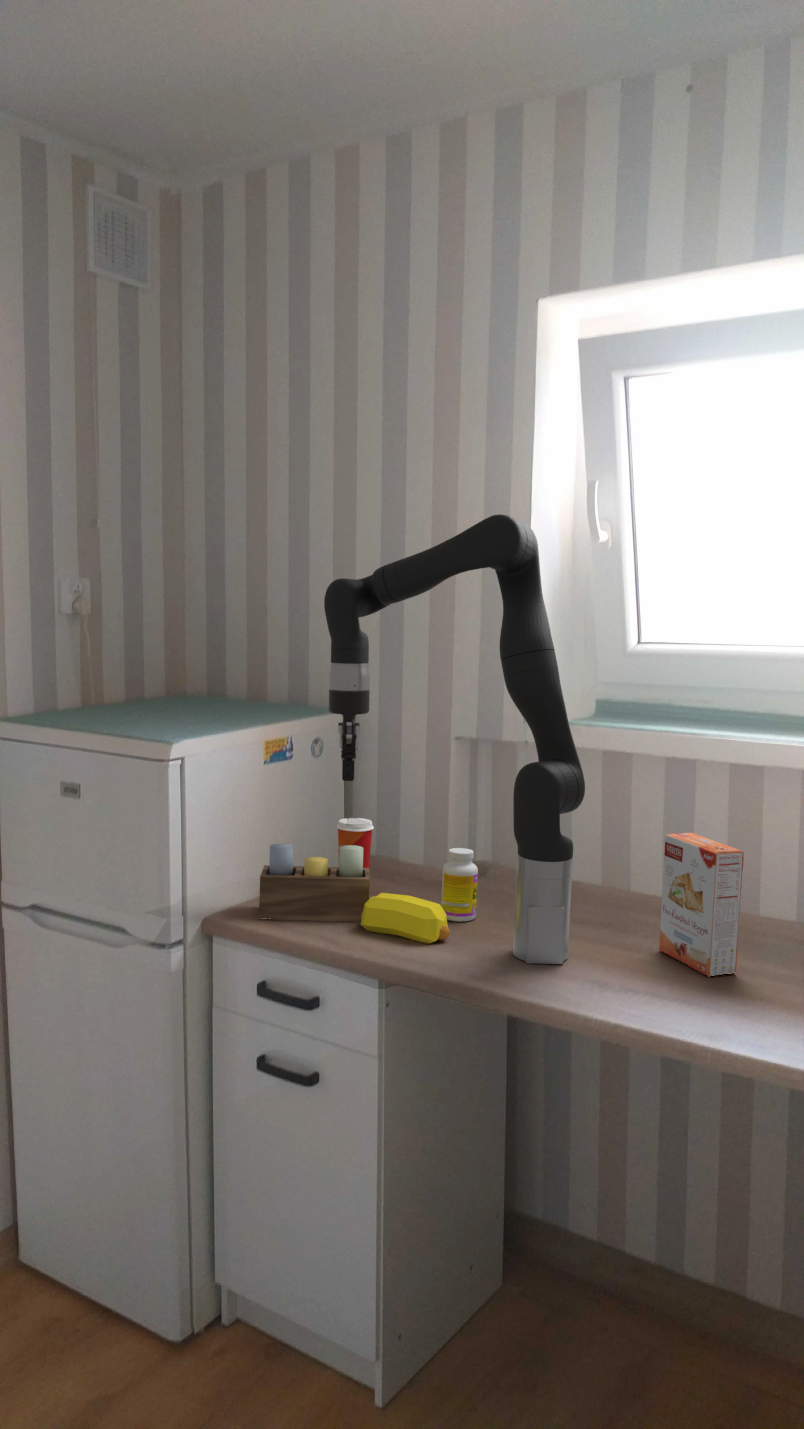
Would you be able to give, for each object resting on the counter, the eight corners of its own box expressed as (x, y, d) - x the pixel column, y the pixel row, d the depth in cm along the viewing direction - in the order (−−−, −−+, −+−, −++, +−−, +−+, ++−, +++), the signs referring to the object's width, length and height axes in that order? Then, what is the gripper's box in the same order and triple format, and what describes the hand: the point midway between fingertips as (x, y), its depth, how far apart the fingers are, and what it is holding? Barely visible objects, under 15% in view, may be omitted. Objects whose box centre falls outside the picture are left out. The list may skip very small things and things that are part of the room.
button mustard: (326, 894, 195) (327, 862, 194) (303, 894, 195) (303, 862, 194) (327, 888, 199) (328, 857, 199) (304, 887, 199) (305, 856, 198)
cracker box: (656, 951, 182) (663, 832, 180) (685, 948, 185) (693, 831, 182) (706, 978, 169) (714, 851, 167) (737, 975, 172) (746, 849, 169)
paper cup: (330, 883, 219) (332, 817, 218) (366, 882, 221) (368, 816, 220) (339, 894, 212) (341, 825, 210) (376, 892, 214) (378, 824, 213)
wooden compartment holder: (368, 921, 194) (369, 879, 193) (259, 919, 193) (260, 876, 192) (368, 908, 202) (369, 868, 201) (263, 906, 201) (264, 865, 200)
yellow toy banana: (438, 949, 180) (458, 938, 187) (439, 911, 179) (460, 901, 186) (349, 930, 189) (372, 920, 195) (351, 894, 188) (373, 885, 195)
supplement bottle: (476, 923, 195) (479, 855, 194) (441, 922, 195) (443, 854, 194) (475, 913, 202) (477, 847, 200) (440, 911, 202) (443, 845, 200)
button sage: (362, 882, 195) (363, 850, 194) (338, 882, 195) (339, 850, 194) (362, 876, 199) (363, 845, 199) (339, 876, 199) (340, 844, 198)
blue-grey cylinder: (291, 881, 194) (292, 849, 194) (268, 880, 194) (268, 848, 194) (293, 875, 199) (294, 843, 198) (270, 874, 199) (270, 843, 198)
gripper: (370, 690, 188) (369, 786, 190) (368, 685, 202) (367, 775, 203) (328, 689, 188) (327, 785, 189) (329, 685, 201) (328, 775, 203)
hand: (348, 780), depth 196 cm, fingers closed
